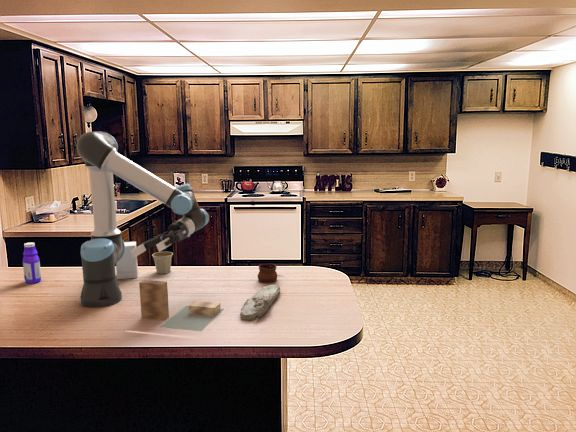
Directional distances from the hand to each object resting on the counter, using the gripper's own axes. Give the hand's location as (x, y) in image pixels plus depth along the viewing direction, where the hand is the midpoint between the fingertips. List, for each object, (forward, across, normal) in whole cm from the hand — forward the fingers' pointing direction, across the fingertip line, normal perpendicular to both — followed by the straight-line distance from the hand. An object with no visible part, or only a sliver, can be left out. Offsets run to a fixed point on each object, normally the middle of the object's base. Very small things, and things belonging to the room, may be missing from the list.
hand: (144, 251), depth 174 cm
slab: (+10, -2, -22) cm, 24 cm away
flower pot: (-35, +34, -21) cm, 53 cm away
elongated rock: (-18, -26, -36) cm, 48 cm away
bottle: (-1, +73, -2) cm, 73 cm away
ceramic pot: (-44, -13, -37) cm, 59 cm away
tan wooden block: (-1, -14, -28) cm, 31 cm away
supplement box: (-24, +44, -15) cm, 52 cm away
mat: (+4, -13, -27) cm, 30 cm away
